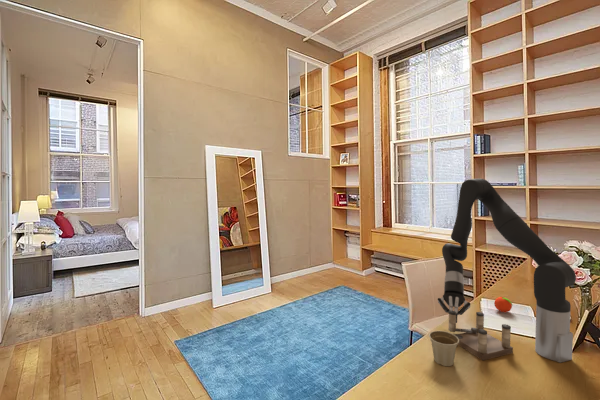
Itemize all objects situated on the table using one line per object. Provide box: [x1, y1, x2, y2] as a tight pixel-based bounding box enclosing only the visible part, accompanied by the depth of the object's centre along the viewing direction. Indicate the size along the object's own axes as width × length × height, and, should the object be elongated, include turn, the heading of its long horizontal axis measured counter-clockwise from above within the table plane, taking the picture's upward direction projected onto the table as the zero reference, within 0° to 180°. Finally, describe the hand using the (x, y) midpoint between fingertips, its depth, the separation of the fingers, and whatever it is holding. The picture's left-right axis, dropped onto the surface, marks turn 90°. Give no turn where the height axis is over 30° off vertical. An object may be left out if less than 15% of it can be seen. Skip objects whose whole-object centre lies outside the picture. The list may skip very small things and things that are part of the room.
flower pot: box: [428, 330, 459, 367], centre depth 104 cm, size 9×9×9 cm
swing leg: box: [448, 310, 477, 333], centre depth 119 cm, size 10×3×8 cm, turn 78°
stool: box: [453, 311, 514, 361], centre depth 113 cm, size 14×14×10 cm
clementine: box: [493, 296, 513, 313], centre depth 141 cm, size 8×7×7 cm
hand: (453, 323), depth 122 cm, fingers closed
